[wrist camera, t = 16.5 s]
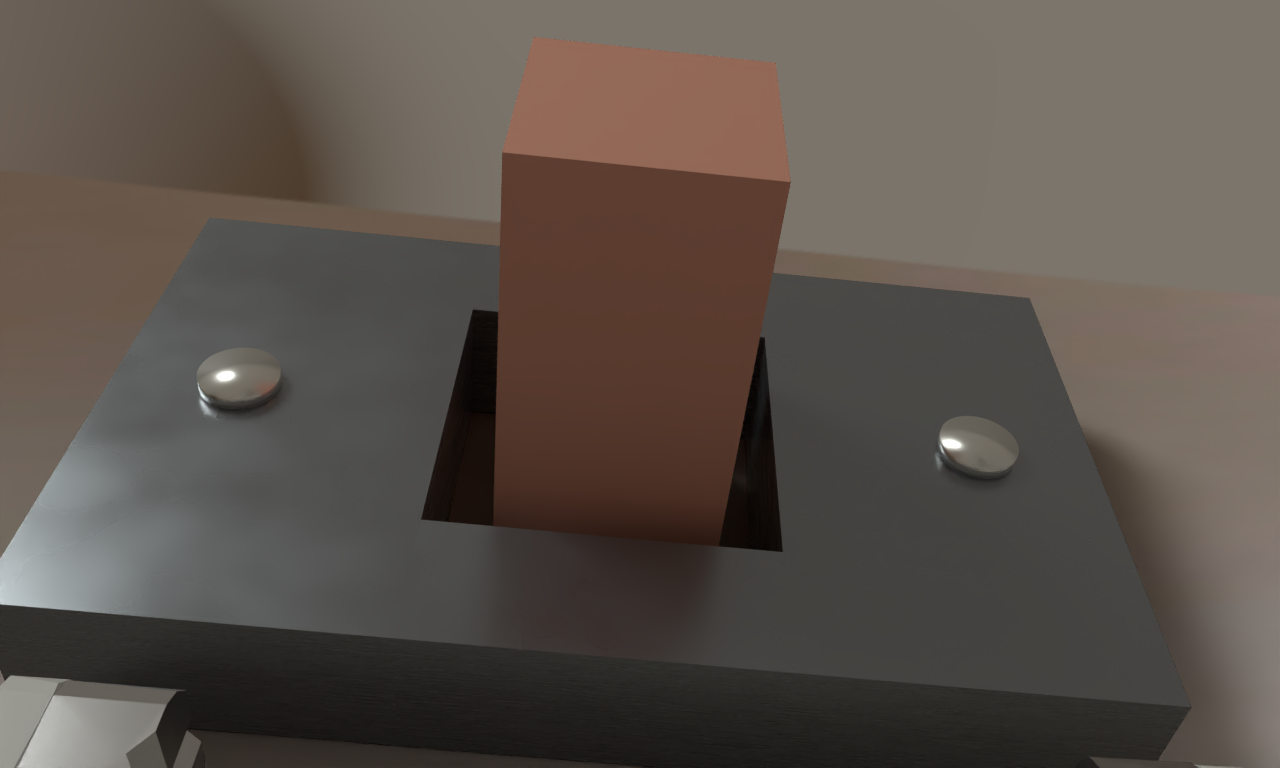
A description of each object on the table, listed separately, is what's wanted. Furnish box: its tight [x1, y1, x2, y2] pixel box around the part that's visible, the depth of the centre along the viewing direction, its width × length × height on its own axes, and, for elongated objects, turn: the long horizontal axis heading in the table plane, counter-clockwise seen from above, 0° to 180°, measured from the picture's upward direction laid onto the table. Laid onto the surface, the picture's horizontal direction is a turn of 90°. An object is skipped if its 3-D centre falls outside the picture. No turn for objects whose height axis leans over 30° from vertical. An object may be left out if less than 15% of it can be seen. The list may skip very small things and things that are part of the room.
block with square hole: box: [0, 218, 1191, 768], centre depth 25 cm, size 20×12×3 cm, turn 88°
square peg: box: [493, 37, 791, 546], centre depth 23 cm, size 4×4×10 cm
